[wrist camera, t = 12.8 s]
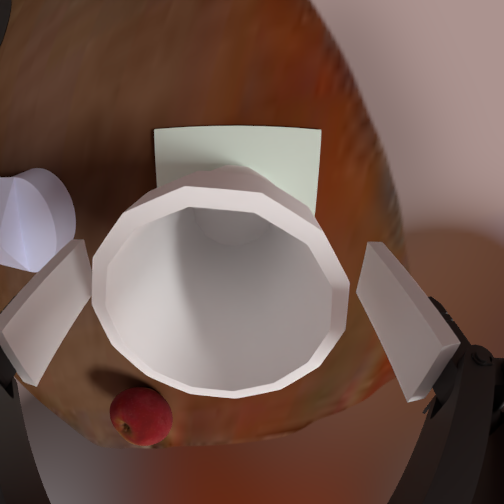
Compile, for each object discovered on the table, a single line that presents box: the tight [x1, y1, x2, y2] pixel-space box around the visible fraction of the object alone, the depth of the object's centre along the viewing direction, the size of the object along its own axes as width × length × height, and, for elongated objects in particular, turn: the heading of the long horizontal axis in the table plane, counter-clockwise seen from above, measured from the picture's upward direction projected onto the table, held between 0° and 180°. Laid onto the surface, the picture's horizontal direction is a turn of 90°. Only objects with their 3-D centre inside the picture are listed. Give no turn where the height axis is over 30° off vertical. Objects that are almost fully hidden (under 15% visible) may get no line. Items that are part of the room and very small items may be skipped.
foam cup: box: [92, 165, 350, 398], centre depth 15 cm, size 10×9×13 cm
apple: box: [110, 387, 173, 446], centre depth 29 cm, size 8×8×8 cm
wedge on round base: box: [0, 168, 76, 272], centre depth 18 cm, size 9×7×13 cm
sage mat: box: [154, 126, 321, 216], centre depth 21 cm, size 12×12×1 cm
